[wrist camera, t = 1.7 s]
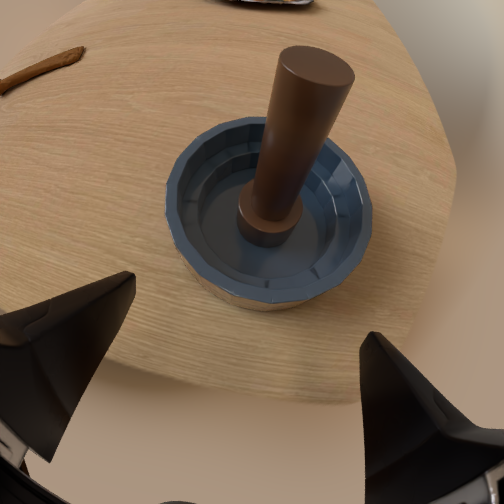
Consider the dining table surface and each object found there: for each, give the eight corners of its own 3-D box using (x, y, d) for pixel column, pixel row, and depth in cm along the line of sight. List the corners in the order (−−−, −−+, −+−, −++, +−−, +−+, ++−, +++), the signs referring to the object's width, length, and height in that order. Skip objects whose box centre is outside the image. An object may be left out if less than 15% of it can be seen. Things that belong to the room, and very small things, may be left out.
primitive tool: (84, 47, 29) (80, 32, 26) (79, 61, 27) (73, 45, 24) (3, 89, 26) (-4, 78, 22) (-6, 106, 24) (-14, 95, 21)
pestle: (297, 246, 20) (393, 111, 7) (238, 249, 20) (265, 94, 7) (288, 194, 22) (351, 46, 9) (234, 196, 21) (250, 32, 8)
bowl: (357, 299, 20) (391, 288, 16) (180, 318, 19) (165, 311, 14) (325, 156, 24) (343, 121, 20) (179, 159, 23) (171, 120, 18)
